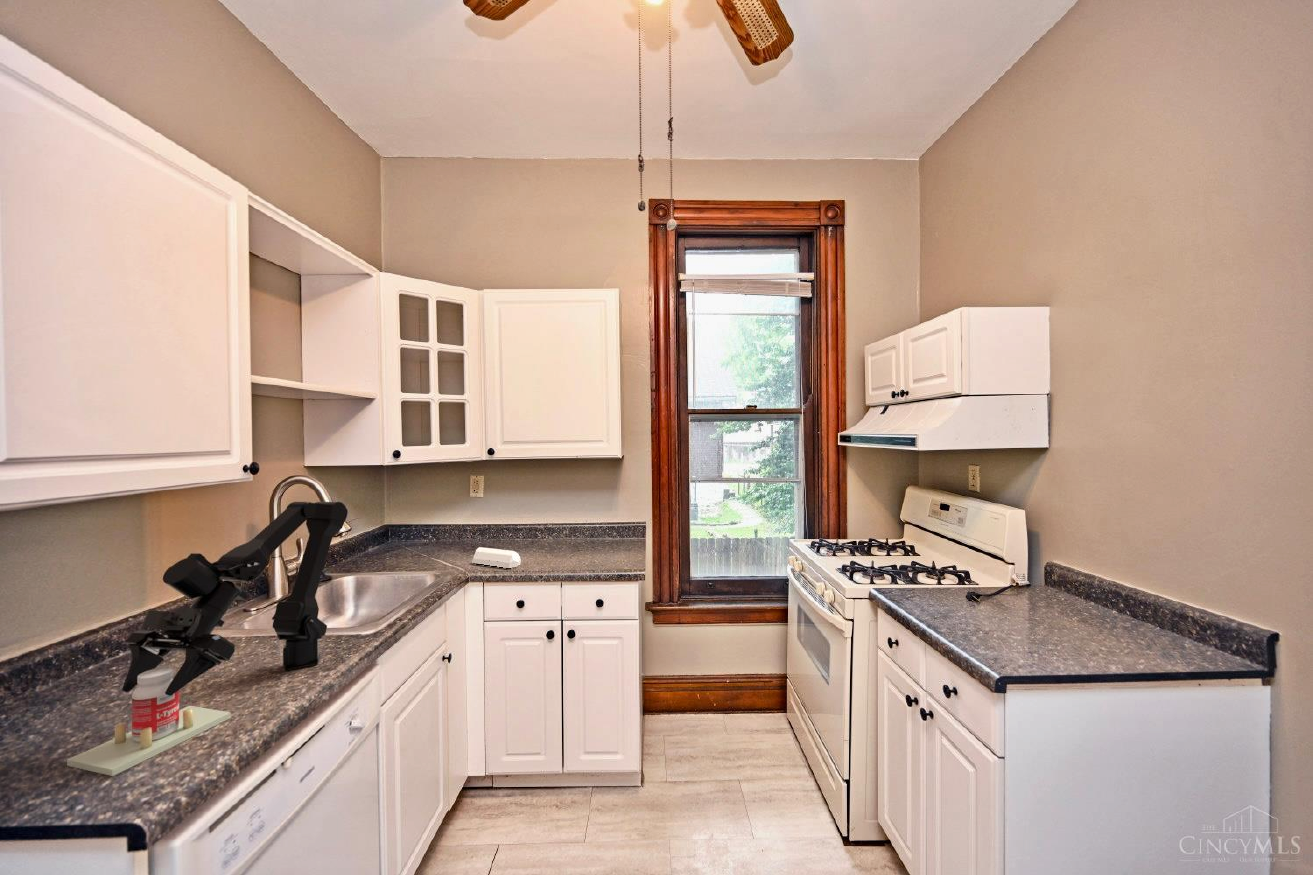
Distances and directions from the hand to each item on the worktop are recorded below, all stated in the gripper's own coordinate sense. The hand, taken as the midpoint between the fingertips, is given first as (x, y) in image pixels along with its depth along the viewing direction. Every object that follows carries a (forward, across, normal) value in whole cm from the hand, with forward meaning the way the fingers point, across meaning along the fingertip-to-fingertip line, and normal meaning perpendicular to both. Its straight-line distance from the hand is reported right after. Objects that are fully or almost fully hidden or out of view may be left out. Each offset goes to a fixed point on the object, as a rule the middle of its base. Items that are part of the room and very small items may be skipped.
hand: (145, 692), depth 93 cm
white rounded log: (-85, +1, +99) cm, 131 cm away
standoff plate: (+5, 0, +7) cm, 9 cm away
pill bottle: (+5, 0, +7) cm, 8 cm away
